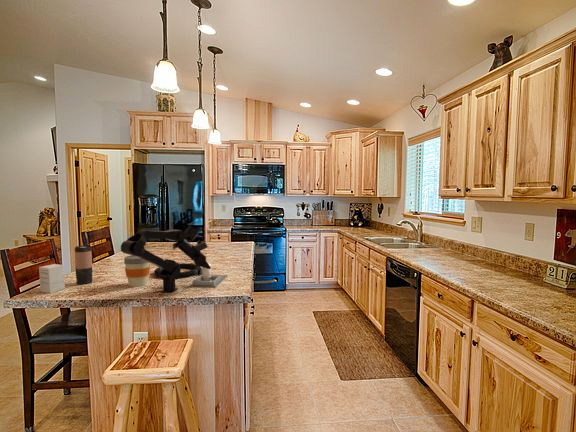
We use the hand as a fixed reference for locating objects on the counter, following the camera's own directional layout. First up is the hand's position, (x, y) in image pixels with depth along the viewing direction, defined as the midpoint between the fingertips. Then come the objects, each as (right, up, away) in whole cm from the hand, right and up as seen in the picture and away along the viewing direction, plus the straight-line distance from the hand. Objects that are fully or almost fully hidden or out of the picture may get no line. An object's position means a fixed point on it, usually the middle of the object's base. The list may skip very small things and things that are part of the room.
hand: (208, 266), depth 170 cm
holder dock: (0, -9, +4) cm, 10 cm away
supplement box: (-75, -10, -14) cm, 76 cm away
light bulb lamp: (-1, -8, 0) cm, 8 cm away
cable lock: (-23, -8, +22) cm, 32 cm away
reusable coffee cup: (-37, -9, -2) cm, 38 cm away
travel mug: (-67, -9, 0) cm, 68 cm away
